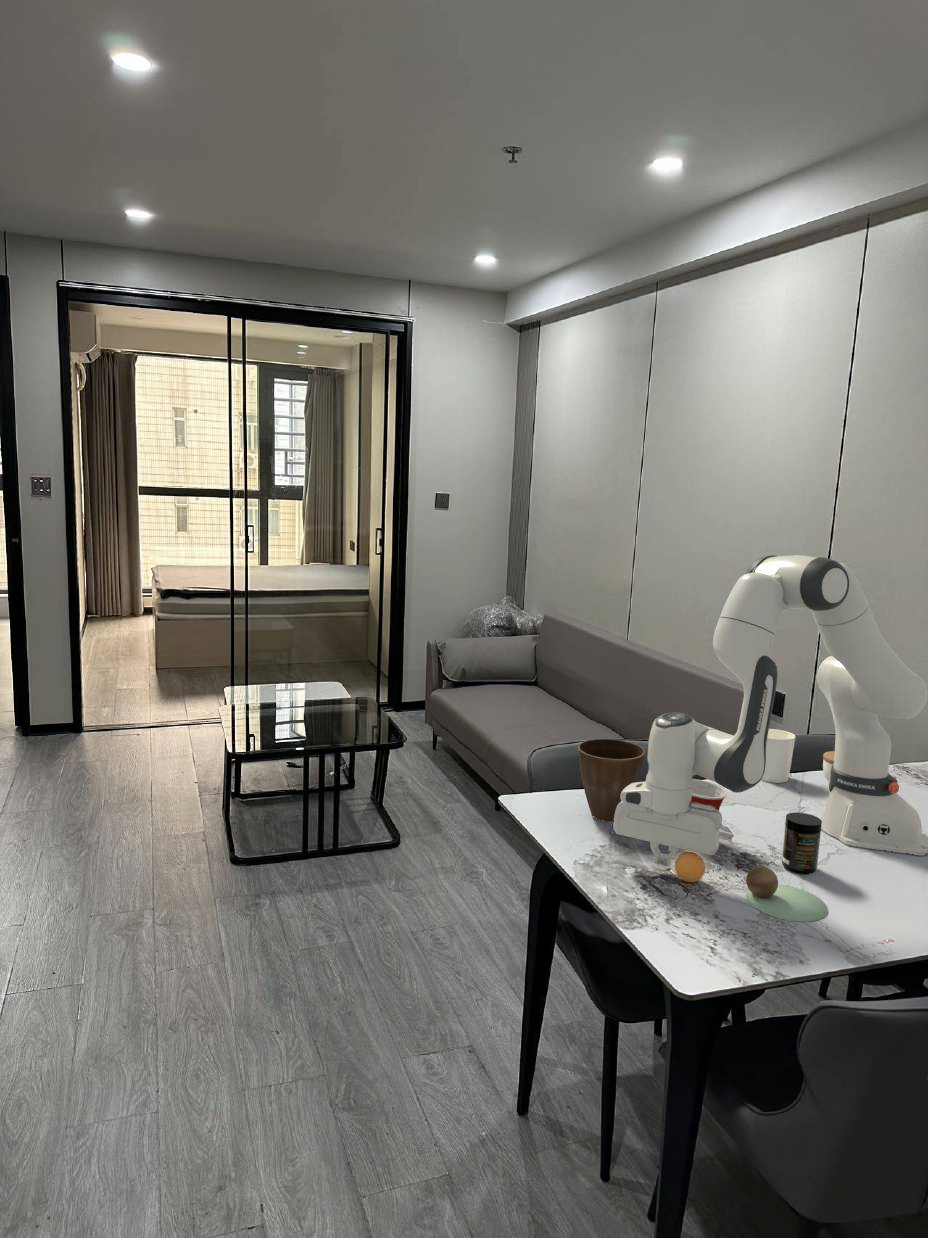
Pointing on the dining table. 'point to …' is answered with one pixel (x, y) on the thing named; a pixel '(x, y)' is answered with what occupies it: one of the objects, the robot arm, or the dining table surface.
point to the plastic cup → (708, 793)
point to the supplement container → (801, 843)
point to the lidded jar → (828, 763)
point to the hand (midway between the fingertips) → (663, 864)
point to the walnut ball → (762, 881)
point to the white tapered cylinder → (778, 756)
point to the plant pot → (608, 773)
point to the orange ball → (690, 867)
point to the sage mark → (790, 904)
